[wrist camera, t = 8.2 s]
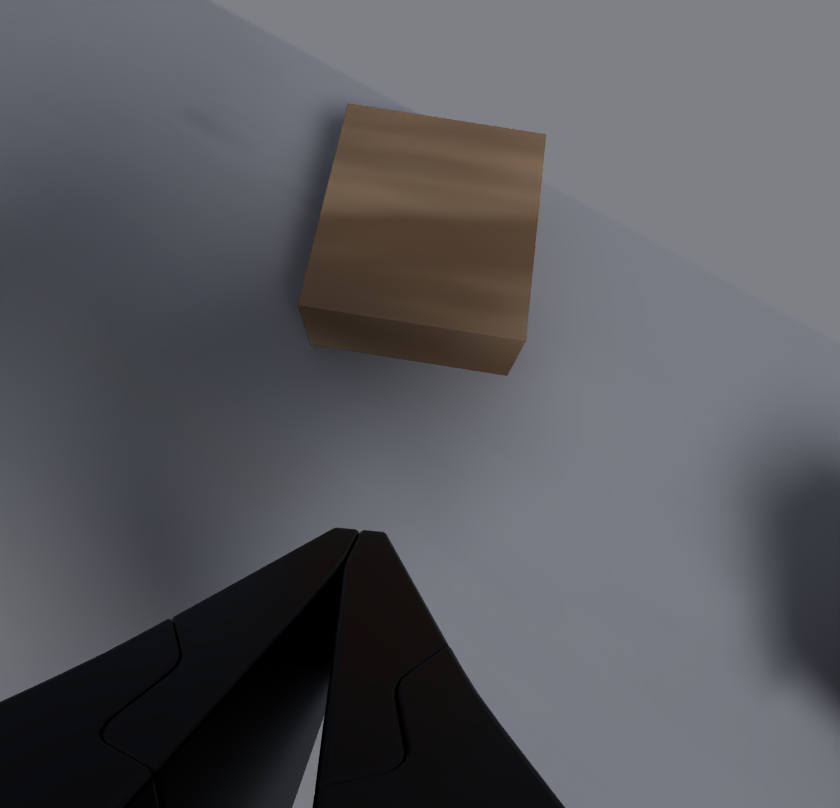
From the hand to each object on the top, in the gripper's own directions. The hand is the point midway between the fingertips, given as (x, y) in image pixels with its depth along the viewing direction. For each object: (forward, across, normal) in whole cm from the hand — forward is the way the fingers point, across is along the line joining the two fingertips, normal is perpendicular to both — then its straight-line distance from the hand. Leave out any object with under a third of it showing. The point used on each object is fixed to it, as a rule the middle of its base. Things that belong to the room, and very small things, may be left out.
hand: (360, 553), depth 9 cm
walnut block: (+10, 0, 0) cm, 10 cm away
